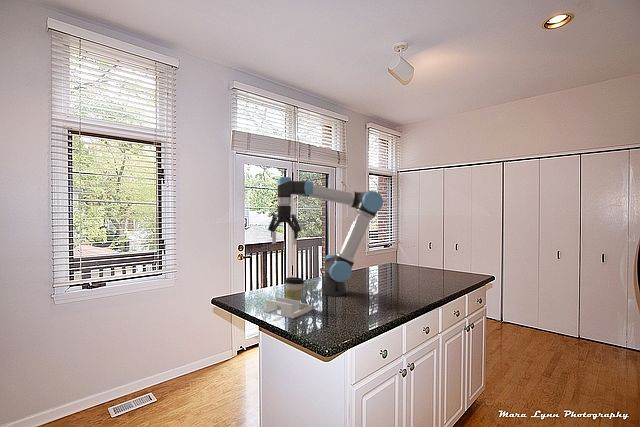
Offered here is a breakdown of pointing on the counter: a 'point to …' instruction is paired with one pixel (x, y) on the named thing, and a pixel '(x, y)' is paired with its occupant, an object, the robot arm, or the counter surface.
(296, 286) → the coffee cup
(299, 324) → the counter surface
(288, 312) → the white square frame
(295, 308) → the pusher
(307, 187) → the robot arm
